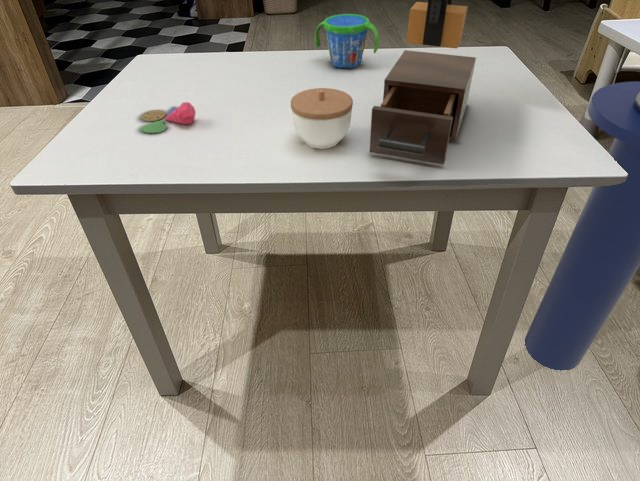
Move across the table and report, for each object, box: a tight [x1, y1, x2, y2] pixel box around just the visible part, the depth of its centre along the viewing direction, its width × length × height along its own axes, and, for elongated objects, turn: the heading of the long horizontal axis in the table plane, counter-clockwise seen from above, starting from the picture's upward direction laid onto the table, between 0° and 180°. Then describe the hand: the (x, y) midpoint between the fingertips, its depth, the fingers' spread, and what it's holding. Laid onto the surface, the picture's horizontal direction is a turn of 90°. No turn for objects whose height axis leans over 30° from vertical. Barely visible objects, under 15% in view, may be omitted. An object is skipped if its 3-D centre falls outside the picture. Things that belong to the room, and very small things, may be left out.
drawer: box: [369, 86, 458, 166], centre depth 77 cm, size 20×13×8 cm, turn 159°
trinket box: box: [290, 87, 354, 150], centre depth 80 cm, size 11×11×9 cm
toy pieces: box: [140, 101, 196, 134], centre depth 89 cm, size 12×11×4 cm
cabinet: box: [382, 49, 477, 143], centre depth 86 cm, size 16×14×10 cm
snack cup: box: [314, 13, 380, 69], centre depth 109 cm, size 16×10×10 cm
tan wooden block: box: [406, 1, 468, 50], centre depth 71 cm, size 8×4×5 cm, turn 68°
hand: (434, 39), depth 73 cm, fingers closed on tan wooden block, 4 cm apart
